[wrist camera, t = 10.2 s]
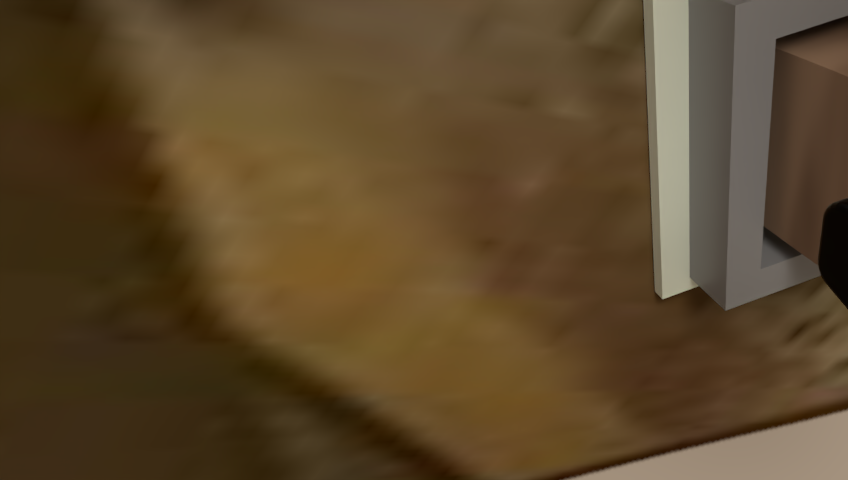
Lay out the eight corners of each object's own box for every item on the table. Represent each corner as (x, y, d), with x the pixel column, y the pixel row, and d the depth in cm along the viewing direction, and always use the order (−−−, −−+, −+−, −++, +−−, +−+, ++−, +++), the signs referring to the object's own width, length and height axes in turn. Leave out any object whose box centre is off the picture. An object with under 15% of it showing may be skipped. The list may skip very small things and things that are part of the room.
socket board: (963, -123, 20) (1052, -117, 18) (900, 202, 26) (961, 235, 24) (642, -25, 19) (696, -5, 17) (654, 291, 25) (696, 334, 23)
